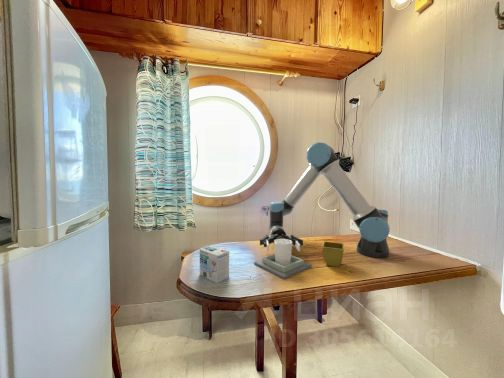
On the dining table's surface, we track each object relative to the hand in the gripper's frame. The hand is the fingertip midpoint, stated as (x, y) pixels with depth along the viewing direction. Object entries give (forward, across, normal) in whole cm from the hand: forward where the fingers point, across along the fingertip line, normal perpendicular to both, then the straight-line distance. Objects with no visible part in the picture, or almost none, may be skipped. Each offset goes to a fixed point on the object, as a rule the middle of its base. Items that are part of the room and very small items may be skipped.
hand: (283, 248), depth 98 cm
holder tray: (-2, 0, -8) cm, 9 cm away
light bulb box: (+9, +29, -9) cm, 31 cm away
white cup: (-2, 0, -8) cm, 8 cm away
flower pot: (-4, -23, -9) cm, 25 cm away
